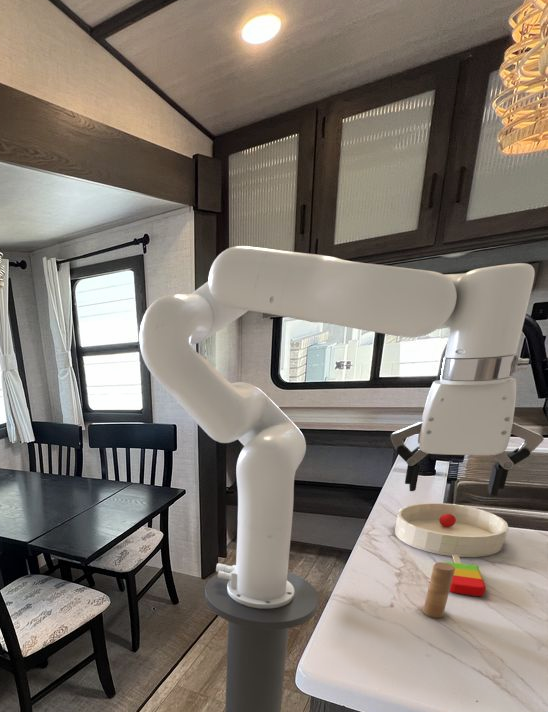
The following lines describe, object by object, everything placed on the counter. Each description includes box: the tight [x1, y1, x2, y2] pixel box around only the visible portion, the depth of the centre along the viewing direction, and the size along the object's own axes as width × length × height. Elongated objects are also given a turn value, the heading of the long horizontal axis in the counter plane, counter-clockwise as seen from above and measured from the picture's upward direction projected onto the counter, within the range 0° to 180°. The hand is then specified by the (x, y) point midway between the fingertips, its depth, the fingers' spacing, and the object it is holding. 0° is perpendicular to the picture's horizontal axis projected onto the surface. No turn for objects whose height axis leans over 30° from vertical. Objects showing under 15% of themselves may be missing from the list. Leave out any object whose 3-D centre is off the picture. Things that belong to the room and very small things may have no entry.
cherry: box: [439, 514, 456, 527], centre depth 105 cm, size 3×3×3 cm
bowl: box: [394, 502, 509, 558], centre depth 102 cm, size 19×19×4 cm
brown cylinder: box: [422, 561, 455, 619], centre depth 76 cm, size 3×3×9 cm
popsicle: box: [443, 554, 487, 597], centre depth 88 cm, size 6×15×2 cm, turn 152°
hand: (450, 490), depth 69 cm, fingers open, 9 cm apart
